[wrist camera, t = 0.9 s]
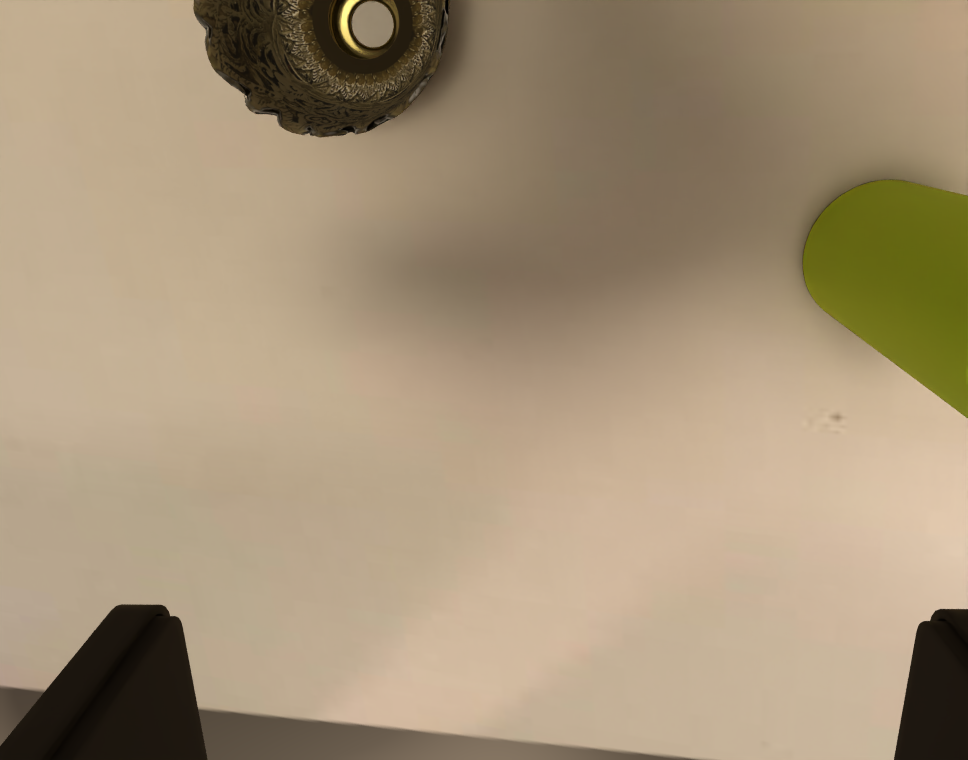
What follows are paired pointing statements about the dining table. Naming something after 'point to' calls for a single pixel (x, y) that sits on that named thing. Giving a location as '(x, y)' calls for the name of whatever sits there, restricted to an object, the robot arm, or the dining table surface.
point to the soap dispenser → (898, 278)
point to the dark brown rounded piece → (323, 59)
